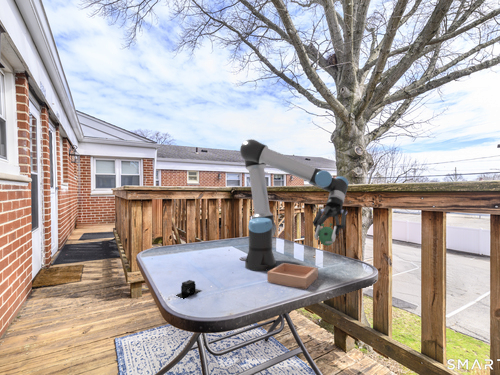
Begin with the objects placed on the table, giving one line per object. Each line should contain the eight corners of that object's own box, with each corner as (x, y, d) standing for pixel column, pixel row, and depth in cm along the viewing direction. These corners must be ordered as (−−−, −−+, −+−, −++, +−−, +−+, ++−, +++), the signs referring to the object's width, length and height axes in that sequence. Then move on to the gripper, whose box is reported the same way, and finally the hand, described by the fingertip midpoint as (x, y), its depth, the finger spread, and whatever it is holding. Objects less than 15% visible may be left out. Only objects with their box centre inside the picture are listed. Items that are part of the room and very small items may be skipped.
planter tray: (267, 281, 101) (267, 271, 102) (283, 271, 115) (283, 262, 115) (305, 289, 93) (305, 278, 93) (317, 277, 107) (317, 267, 107)
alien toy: (324, 247, 109) (324, 224, 109) (316, 244, 116) (316, 222, 116) (338, 247, 110) (338, 224, 110) (329, 243, 118) (329, 222, 118)
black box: (194, 287, 97) (194, 275, 97) (208, 291, 93) (208, 279, 93) (167, 298, 87) (167, 285, 87) (181, 303, 83) (181, 289, 83)
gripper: (358, 207, 120) (349, 246, 107) (318, 206, 132) (305, 241, 118) (355, 196, 116) (345, 235, 103) (314, 195, 128) (300, 231, 114)
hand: (324, 238), depth 110 cm, fingers closed on alien toy, 7 cm apart
